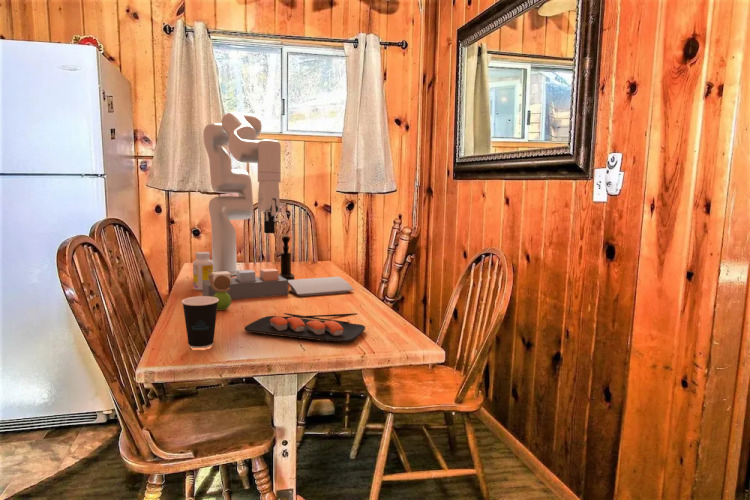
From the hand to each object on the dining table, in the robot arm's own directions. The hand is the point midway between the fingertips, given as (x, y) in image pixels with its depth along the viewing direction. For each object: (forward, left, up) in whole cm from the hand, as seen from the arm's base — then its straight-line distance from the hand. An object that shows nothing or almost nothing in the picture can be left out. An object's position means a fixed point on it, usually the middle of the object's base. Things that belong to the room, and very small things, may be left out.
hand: (269, 232), depth 170 cm
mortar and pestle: (-18, +12, -21) cm, 30 cm away
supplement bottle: (-15, -19, -21) cm, 32 cm away
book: (+2, +17, -21) cm, 27 cm away
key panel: (0, -8, -21) cm, 22 cm away
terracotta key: (0, 0, -17) cm, 17 cm away
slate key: (0, -8, -17) cm, 19 cm away
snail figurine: (+17, -20, -21) cm, 33 cm away
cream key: (0, -16, -17) cm, 23 cm away
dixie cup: (+50, -31, -21) cm, 62 cm away
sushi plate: (+43, 0, -21) cm, 48 cm away
